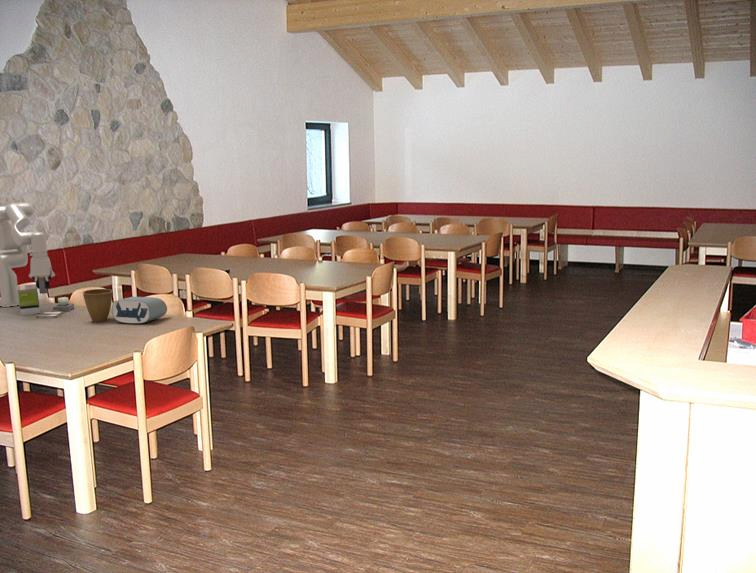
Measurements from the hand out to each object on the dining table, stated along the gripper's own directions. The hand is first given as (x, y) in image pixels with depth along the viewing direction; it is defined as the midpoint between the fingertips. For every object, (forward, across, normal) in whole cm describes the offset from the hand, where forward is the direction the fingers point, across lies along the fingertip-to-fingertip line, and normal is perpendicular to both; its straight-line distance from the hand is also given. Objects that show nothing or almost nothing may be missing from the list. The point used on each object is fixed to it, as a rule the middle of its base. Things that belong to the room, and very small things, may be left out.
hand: (43, 287), depth 418 cm
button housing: (+16, +5, +15) cm, 22 cm away
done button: (+13, +5, +15) cm, 20 cm away
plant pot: (+16, +34, -17) cm, 41 cm away
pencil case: (+16, +56, -20) cm, 61 cm away
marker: (+3, 0, 0) cm, 3 cm away
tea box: (+16, -13, +12) cm, 24 cm away
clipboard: (+16, +2, +2) cm, 16 cm away
